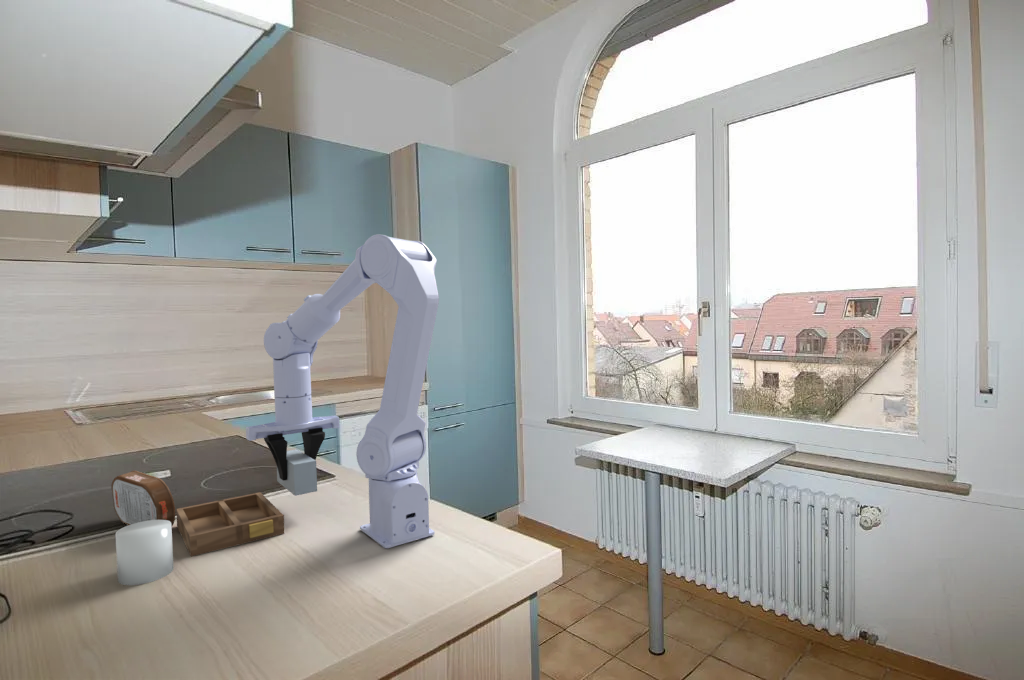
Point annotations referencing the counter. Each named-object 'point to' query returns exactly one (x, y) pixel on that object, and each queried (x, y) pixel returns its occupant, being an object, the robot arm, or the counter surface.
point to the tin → (142, 498)
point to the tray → (228, 523)
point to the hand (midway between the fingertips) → (296, 476)
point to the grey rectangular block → (299, 473)
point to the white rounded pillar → (144, 552)
